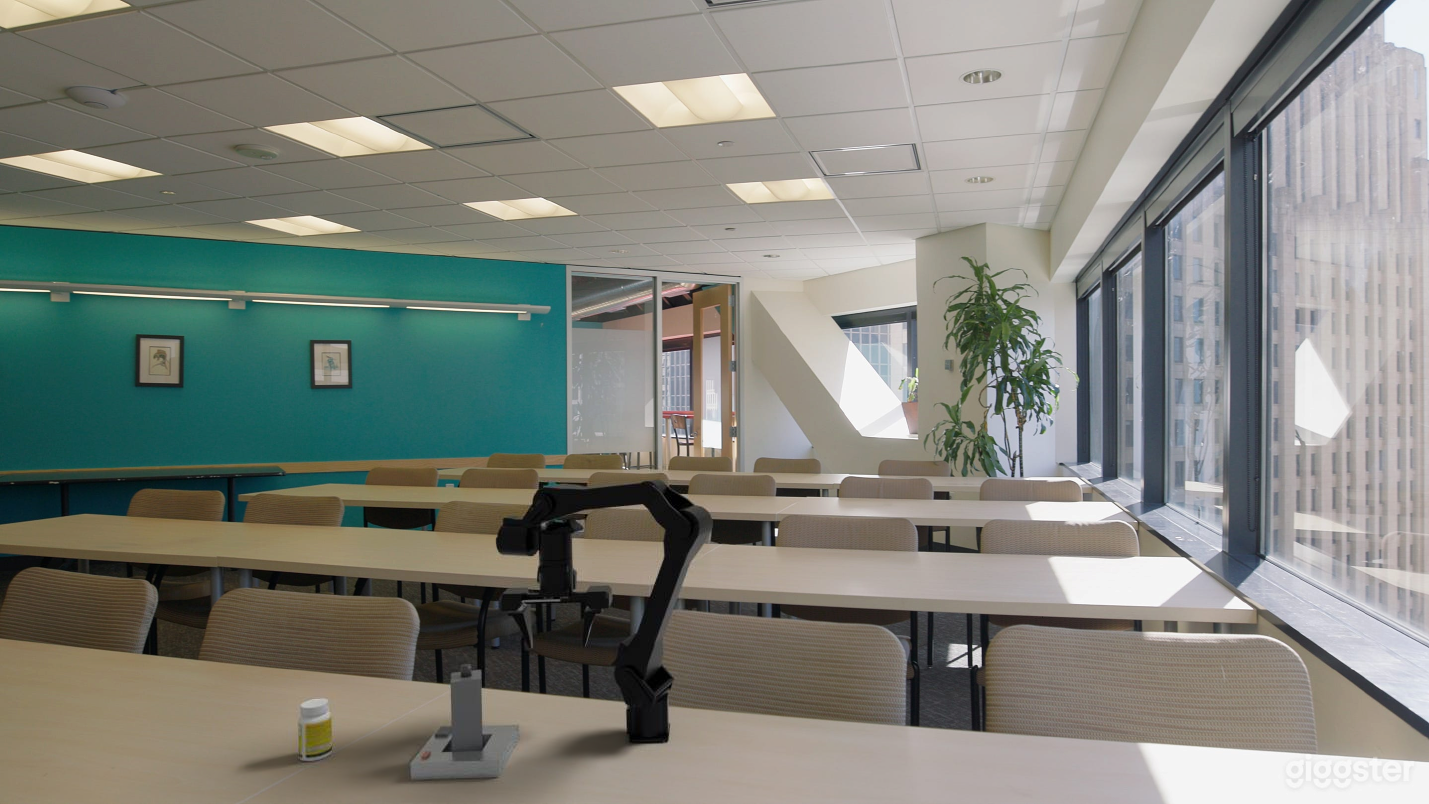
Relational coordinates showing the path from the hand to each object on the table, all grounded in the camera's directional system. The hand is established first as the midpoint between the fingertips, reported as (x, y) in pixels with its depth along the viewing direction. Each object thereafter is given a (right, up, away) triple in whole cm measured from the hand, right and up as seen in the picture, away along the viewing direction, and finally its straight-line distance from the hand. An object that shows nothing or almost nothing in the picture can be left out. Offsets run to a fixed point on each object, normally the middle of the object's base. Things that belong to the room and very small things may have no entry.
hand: (557, 647), depth 137 cm
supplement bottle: (-36, -14, -11) cm, 41 cm away
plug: (-11, -13, -13) cm, 22 cm away
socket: (-11, -13, -13) cm, 22 cm away
